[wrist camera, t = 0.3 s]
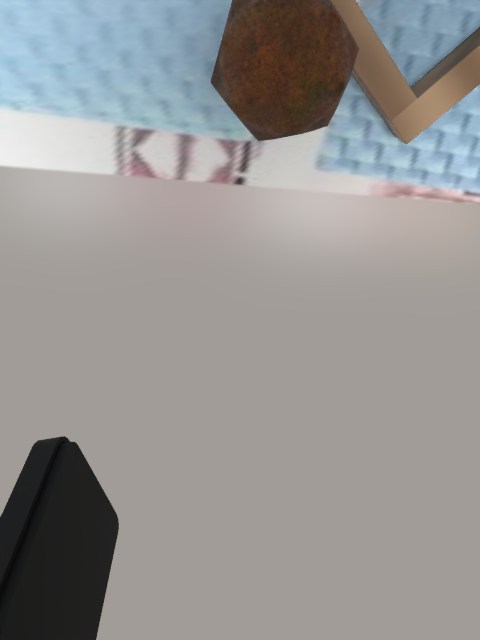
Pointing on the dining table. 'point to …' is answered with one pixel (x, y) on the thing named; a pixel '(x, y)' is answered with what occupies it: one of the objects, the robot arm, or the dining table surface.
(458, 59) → the wooden peg holder
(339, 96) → the bolt
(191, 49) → the dining table surface
